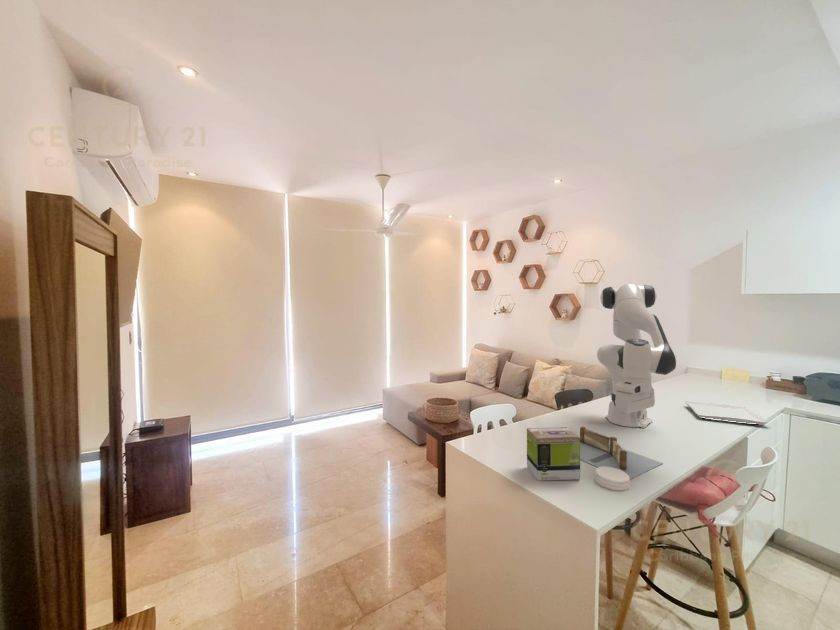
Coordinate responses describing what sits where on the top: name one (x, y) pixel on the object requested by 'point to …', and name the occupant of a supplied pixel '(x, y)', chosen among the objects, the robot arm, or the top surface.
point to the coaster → (612, 478)
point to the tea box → (553, 453)
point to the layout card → (605, 459)
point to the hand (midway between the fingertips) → (635, 422)
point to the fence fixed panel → (596, 439)
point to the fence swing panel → (620, 455)
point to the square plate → (760, 420)
